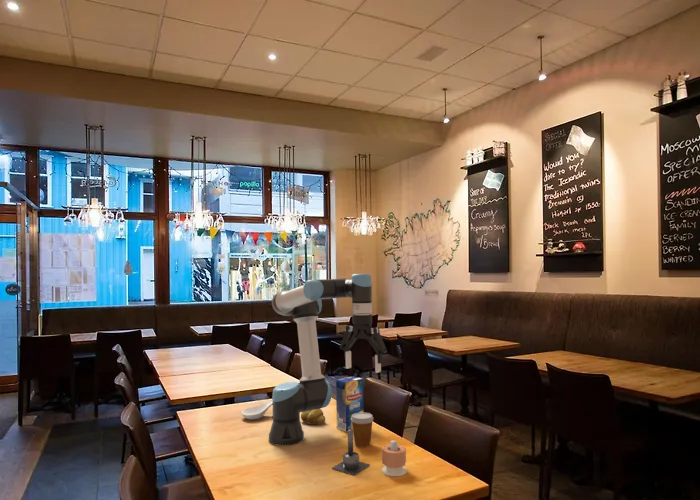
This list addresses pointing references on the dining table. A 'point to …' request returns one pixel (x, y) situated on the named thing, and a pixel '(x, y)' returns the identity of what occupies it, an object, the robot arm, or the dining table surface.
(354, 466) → the stand
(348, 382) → the beverage box
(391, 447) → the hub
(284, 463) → the dining table surface
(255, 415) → the spoon rest
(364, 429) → the disposable coffee cup
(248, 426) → the dining table surface
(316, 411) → the bread roll
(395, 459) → the collar
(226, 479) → the dining table surface
